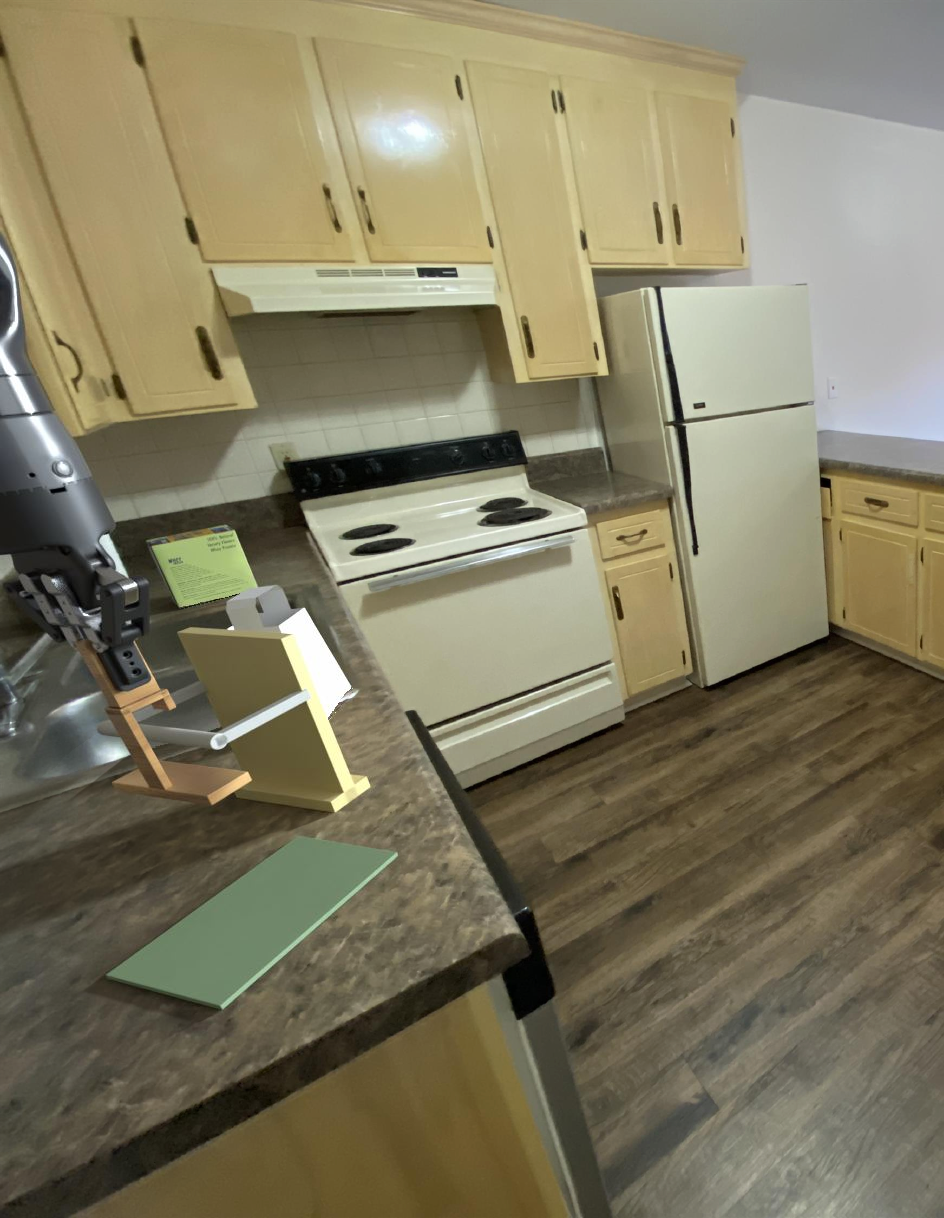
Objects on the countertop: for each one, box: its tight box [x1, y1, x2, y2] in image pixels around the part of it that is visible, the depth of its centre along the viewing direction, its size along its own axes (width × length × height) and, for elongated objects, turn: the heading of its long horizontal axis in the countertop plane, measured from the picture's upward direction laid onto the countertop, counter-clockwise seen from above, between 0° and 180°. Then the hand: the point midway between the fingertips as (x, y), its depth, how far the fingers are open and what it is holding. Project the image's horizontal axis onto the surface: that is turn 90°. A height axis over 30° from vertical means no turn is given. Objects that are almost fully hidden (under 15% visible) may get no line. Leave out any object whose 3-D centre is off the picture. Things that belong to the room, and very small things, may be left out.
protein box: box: [144, 524, 259, 608], centre depth 159 cm, size 10×15×16 cm
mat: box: [105, 835, 399, 1011], centre depth 65 cm, size 14×18×1 cm
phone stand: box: [74, 638, 252, 806], centre depth 57 cm, size 4×12×15 cm, turn 75°
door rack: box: [96, 626, 371, 814], centre depth 75 cm, size 13×17×22 cm
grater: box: [225, 584, 352, 718], centre depth 99 cm, size 10×10×20 cm
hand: (128, 685), depth 56 cm, fingers closed on phone stand, 1 cm apart
